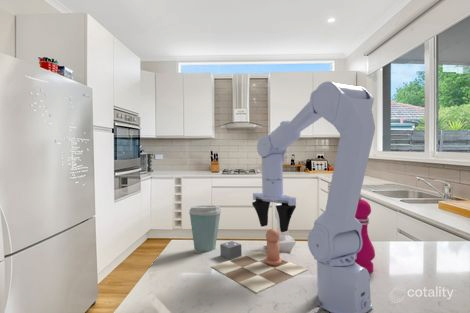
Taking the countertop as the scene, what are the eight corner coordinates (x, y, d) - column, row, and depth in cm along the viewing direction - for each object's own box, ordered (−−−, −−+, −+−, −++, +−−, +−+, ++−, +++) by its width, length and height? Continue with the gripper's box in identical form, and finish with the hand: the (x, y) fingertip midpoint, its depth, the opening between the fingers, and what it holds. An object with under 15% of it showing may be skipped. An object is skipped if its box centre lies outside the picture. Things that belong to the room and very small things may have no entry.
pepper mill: (379, 275, 64) (377, 195, 65) (348, 273, 66) (346, 195, 66) (370, 263, 72) (368, 191, 72) (342, 262, 73) (340, 191, 73)
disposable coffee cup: (186, 248, 88) (185, 204, 88) (217, 243, 92) (216, 201, 92) (193, 259, 78) (192, 209, 78) (226, 253, 82) (225, 206, 82)
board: (308, 273, 66) (308, 269, 66) (256, 298, 55) (256, 292, 55) (259, 254, 80) (259, 250, 81) (211, 270, 69) (211, 266, 69)
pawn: (284, 262, 71) (283, 229, 71) (273, 267, 68) (272, 232, 68) (273, 258, 74) (272, 226, 75) (262, 262, 72) (261, 228, 72)
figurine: (274, 256, 79) (272, 206, 79) (268, 245, 88) (267, 201, 89) (297, 254, 79) (296, 206, 80) (289, 244, 89) (287, 201, 89)
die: (241, 259, 77) (241, 244, 77) (229, 263, 74) (229, 247, 74) (232, 255, 80) (232, 240, 81) (220, 259, 78) (220, 243, 78)
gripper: (244, 179, 75) (245, 226, 75) (282, 181, 64) (283, 237, 63) (262, 177, 79) (263, 222, 79) (300, 179, 68) (301, 231, 68)
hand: (273, 228), depth 72 cm, fingers open, 7 cm apart
